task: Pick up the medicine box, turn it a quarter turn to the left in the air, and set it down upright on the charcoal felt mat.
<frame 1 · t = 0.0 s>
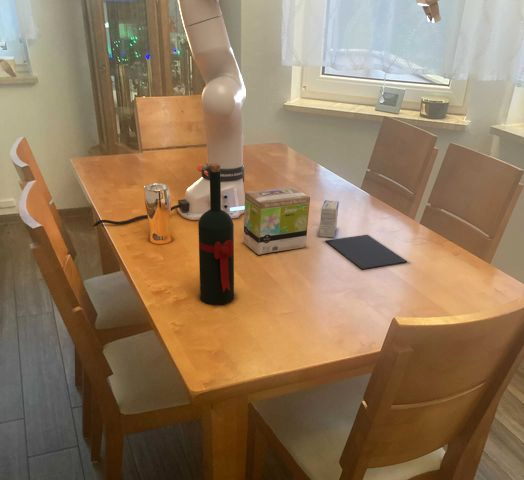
hand: (434, 20, 143), 54 cm above the table, tool tilted 30°, fingers open, 8 cm apart
tea box: (274, 246, 153), on the table
felt mat: (364, 251, 151), on the table
medicine box: (327, 233, 162), on the table
wine bottle: (218, 300, 125), on the table
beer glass: (160, 240, 154), on the table
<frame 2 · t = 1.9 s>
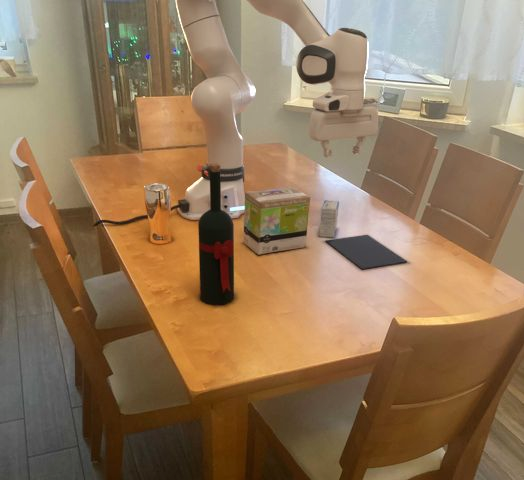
hand: (341, 155, 150), 22 cm above the table, tool pointing down, fingers open, 8 cm apart
nothing on the table moved.
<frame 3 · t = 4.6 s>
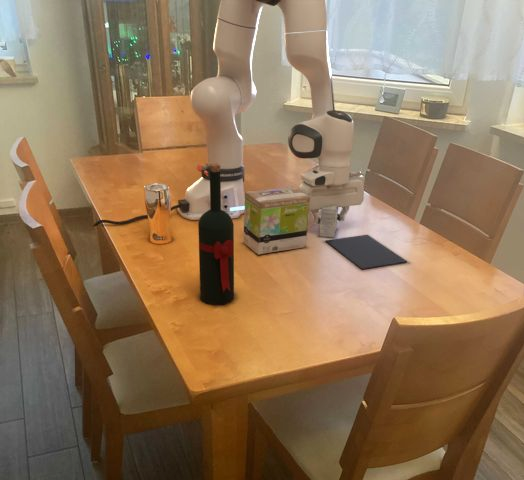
hand: (328, 221, 160), 3 cm above the table, tool pointing down, fingers closed on medicine box, 6 cm apart
medicine box: (327, 233, 162), on the table, touching gripper
everything else where it was.
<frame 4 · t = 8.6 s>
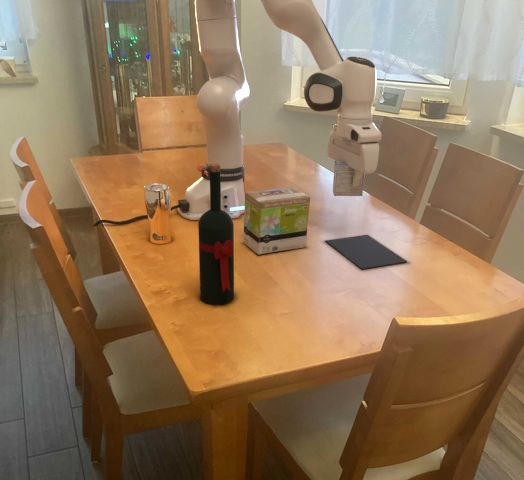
hand: (348, 182, 149), 17 cm above the table, tool pointing down, fingers closed on medicine box, 5 cm apart
medicine box: (347, 194, 151), point 13 cm above the table, touching gripper
everything else where it was.
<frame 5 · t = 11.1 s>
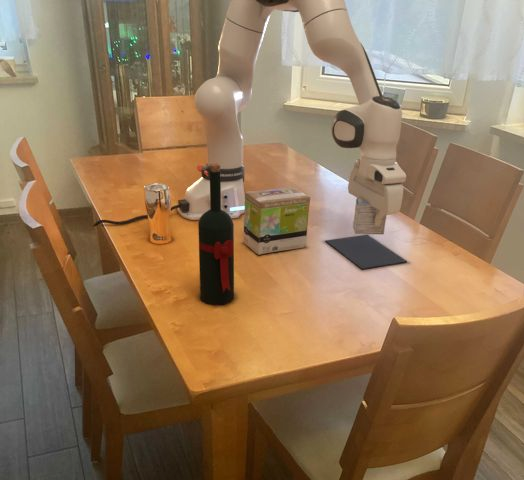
hand: (369, 220, 146), 9 cm above the table, tool pointing down, fingers closed on medicine box, 5 cm apart
medicine box: (367, 232, 148), point 6 cm above the table, touching gripper
everything else where it was.
when the fingers open (4 cm above the table, at t = 12.9 s): medicine box stays where it is, resting on felt mat.
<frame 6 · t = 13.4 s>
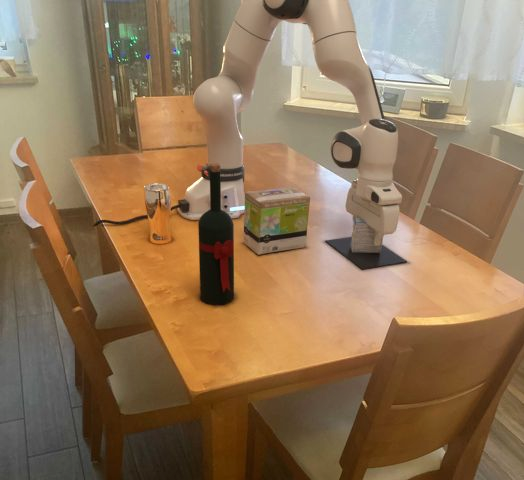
hand: (366, 238, 149), 4 cm above the table, tool pointing down, fingers open, 8 cm apart
medicine box: (365, 251, 151), resting on felt mat
everything else where it was.
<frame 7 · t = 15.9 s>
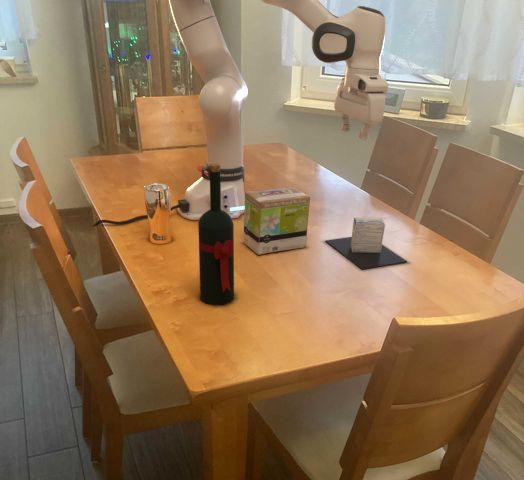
hand: (353, 135, 151), 27 cm above the table, tool pointing down, fingers open, 8 cm apart
nothing on the table moved.
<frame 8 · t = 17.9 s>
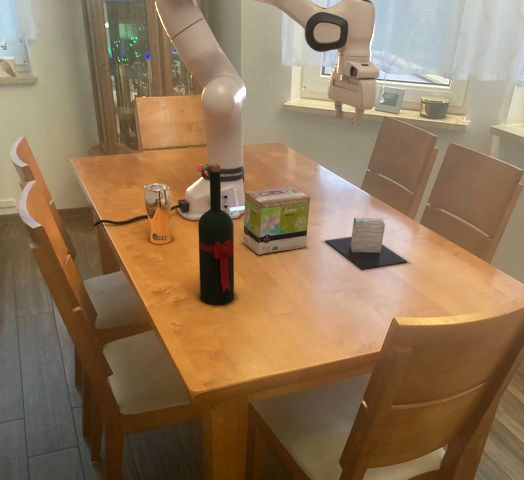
hand: (347, 121, 155), 29 cm above the table, tool pointing down, fingers open, 8 cm apart
nothing on the table moved.
at the end: medicine box inside the target area (0.1 cm from its centre), resting on felt mat; medicine box tilted 0°; the gripper is holding nothing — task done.
